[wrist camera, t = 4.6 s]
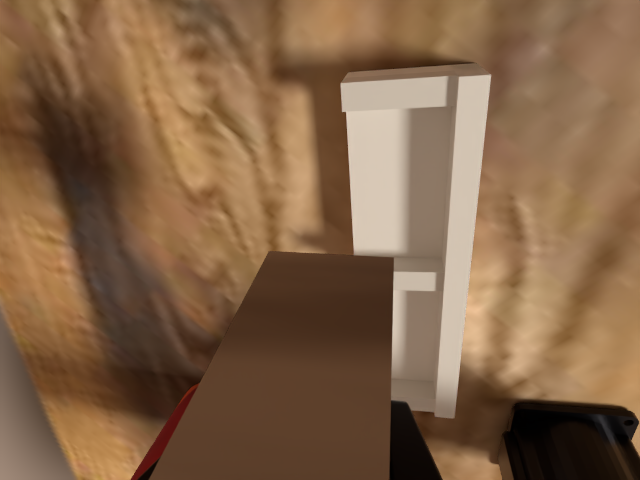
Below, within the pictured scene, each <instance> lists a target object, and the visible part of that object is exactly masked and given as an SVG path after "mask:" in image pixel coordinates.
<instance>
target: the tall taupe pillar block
mask: <svg viewBox="0 0 640 480" xmlns="http://www.w3.org/2000/svg"><path fill="white" fill-rule="evenodd" d="M393 281H394V257H377V256H357V255H337V254H317V253H297V252H276V251H269V252H268V254H267V256H266V258H265V260H264V262H263V264H262V266H261V268H260V269H259V271H258V273H257V275H256V277H255V279H254V281H253V283H252V285H251V287H250V288H249V290H248V292H247V294H246V296H245V298H244V300H243V302H242V304H241V306H240V307H239V309H238V311H237V313H236V315H235V317H234V319H233V321H232V323H231V325H230V326H229V328H228V330H227V332H226V334H225V336H224V338H223V340H222V342H221V344H220V345H219V347H218V349H217V351H216V353H215V355H214V357H213V359H212V361H211V363H210V364H209V366H208V368H207V370H206V372H205V374H204V376H203V378H202V380H201V382H200V383H199V385H198V387H197V389H196V391H195V393H194V395H193V397H192V399H191V401H190V402H189V404H188V406H187V408H186V410H185V412H184V414H183V416H182V418H181V420H180V421H179V423H178V425H177V427H176V429H175V431H174V433H173V435H172V437H171V439H170V440H169V442H168V444H167V446H166V448H165V450H164V452H163V454H162V456H161V458H160V459H159V461H158V463H157V465H156V467H155V469H154V471H153V473H152V475H151V477H150V478H149V480H389V467H390V421H391V374H392V328H393Z"/></svg>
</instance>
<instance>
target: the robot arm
mask: <svg viewBox="0 0 640 480" xmlns="http://www.w3.org/2000/svg"><path fill="white" fill-rule="evenodd" d="M638 424H639V421H638V419H637V417H636V415H635V414H634V413H633V412H631V411H624V410H610V409H596V408H582V407H568V406H555V405H541V404H527V403H518V404H516V405H514V406H513V408H512V411H511V416H510V421H509V426H508V431H505V432H504V433H503V434H502V439H501V444H500V449H499V454H498V462H499V466H500V471H501V475H502V480H640V456H639V454H638V453H637V451H636V449H635V447H634V445H633V443H632V441H631V440H632V438H633V435H634V433H635V431H636V428H637V426H638ZM161 456H162V455H161ZM161 456H160V457H159V458H158V459H157V460H156V461H155V462H154V463H153V464H152V465H151V466H150V467H149V468H148V469H147V470H146V471H145V472H144V473H143V474H142V475H141V476H140V477H139V478H138V479H137V480H149V478H150V477H151V475H152V473H153V471H154V469H155V467H156V465H157V463H158V461H159V459H160V458H161ZM389 480H443V479H442V477H441V475H440V473H439V471H438V468H437V466H436V464H435V462H434V459H433V457H432V455H431V453H430V451H429V448H428V446H427V444H426V442H425V440H424V437H423V435H422V433H421V431H420V428H419V426H418V424H417V422H416V420H415V417H414V415H413V413H412V411H411V409H410V406H409V404H408V403H407V402H406V401H399V400H391V421H390V467H389Z"/></svg>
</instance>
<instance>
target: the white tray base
mask: <svg viewBox="0 0 640 480" xmlns="http://www.w3.org/2000/svg"><path fill="white" fill-rule="evenodd" d="M490 80H491V74H489V73H488V72H487V71H486V70H484V69H483V68H482V67H481V66H479V65H478V64H477V63H471V64H457V65H443V66H428V67H414V68H400V69H386V70H372V71H358V72H348V73H347V75H346V76H345V78H344V79H343V80H342V82H341V83H340V84H341V100H342V112H346V118H347V137H348V155H349V173H350V191H351V209H352V227H353V245H354V255H357V256H377V257H394V281H393V328H392V374H391V400H399V401H406V402H407V403H408V404H409V406H410V409H411V410H413V411H426V412H434V414H435V417H442V418H454V417H455V408H456V399H457V389H458V380H459V371H460V361H461V352H462V342H463V333H464V324H465V314H466V305H467V295H468V286H469V277H470V267H471V258H472V249H473V239H474V230H475V220H476V211H477V202H478V192H479V183H480V173H481V164H482V155H483V145H484V136H485V127H486V117H487V108H488V98H489V89H490Z"/></svg>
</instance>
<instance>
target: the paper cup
mask: <svg viewBox="0 0 640 480" xmlns="http://www.w3.org/2000/svg"><path fill="white" fill-rule="evenodd" d="M198 385H199V383H198V384H196V385H194V386H192V387H191V388H190V389H189V390H188V391H187V392H186V394H185V395H184V397H183V398H182V400H181V401H180V403H179V404H178V406H177V407H176V409H175V410H174V412H173V413H172V415H171V416H170V418H169V420H168V421H167V423H166V424H165V426H164V427H163V429H162V431H161V432H160V434H159V435H158V437H157V438H156V440H155V442H154V443H153V445H152V446H151V448H150V449H149V451H148V453H147V454H146V456H145V457H144V459H143V461H142V462H141V464H140V465H139V467H138V468H137V470H136V472H135V473H134V475H133V476H132V478H131V480H137V479H138V478H139V477H140V476H141V475H142V474H143V473H144V472H145V471H146V470H147V469H148V468H149V467H150V466H151V465H152V464H153V463H154V462H155V461H156V460H157V459H158V458H159V457H160V456H161V455H162V454H163V452H164V450H165V448H166V446H167V444H168V442H169V440H170V439H171V437H172V435H173V433H174V431H175V429H176V427H177V425H178V423H179V421H180V420H181V418H182V416H183V414H184V412H185V410H186V408H187V406H188V404H189V402H190V401H191V399H192V397H193V395H194V393H195V391H196V389H197V387H198Z"/></svg>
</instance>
